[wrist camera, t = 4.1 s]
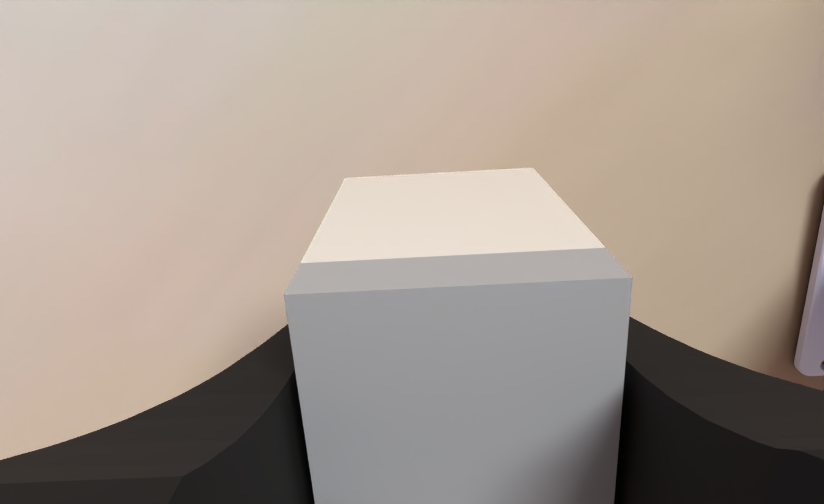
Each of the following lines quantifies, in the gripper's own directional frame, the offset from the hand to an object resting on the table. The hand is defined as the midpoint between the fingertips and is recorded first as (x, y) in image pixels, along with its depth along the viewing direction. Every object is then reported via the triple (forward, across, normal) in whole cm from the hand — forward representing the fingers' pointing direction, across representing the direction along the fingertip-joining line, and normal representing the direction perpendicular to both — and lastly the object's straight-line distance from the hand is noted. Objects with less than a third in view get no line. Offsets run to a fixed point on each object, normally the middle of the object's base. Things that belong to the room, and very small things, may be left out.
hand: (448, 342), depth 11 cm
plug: (+2, 0, 0) cm, 2 cm away
